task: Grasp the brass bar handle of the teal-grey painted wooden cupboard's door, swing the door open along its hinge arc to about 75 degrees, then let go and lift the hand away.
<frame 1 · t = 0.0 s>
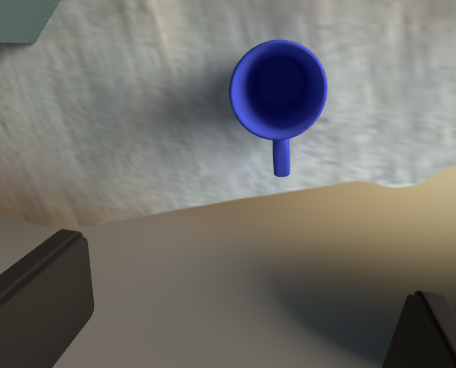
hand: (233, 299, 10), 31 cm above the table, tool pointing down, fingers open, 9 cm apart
mug: (281, 100, 38), on the table
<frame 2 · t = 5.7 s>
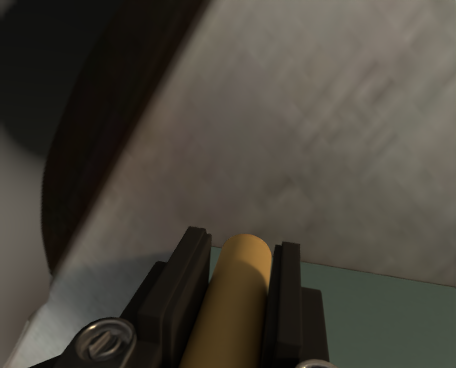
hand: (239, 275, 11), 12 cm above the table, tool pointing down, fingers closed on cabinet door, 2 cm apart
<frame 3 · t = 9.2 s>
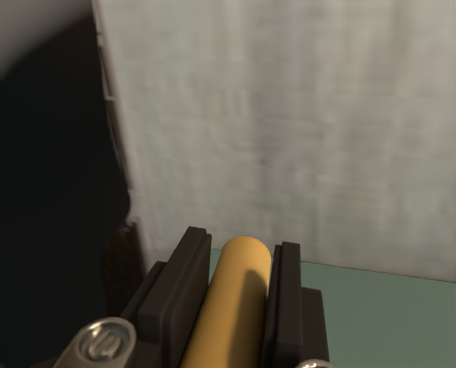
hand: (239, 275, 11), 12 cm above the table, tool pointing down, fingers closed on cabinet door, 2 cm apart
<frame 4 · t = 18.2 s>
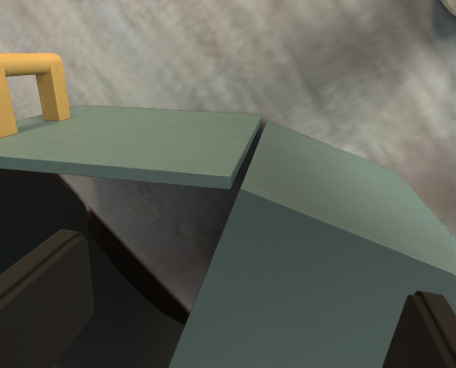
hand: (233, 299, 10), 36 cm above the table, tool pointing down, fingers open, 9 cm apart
cabinet: (291, 224, 49), on the table
cabinet door: (126, 97, 34), point 12 cm above the table, hinge at 72.0°
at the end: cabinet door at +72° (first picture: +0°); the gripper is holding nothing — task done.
